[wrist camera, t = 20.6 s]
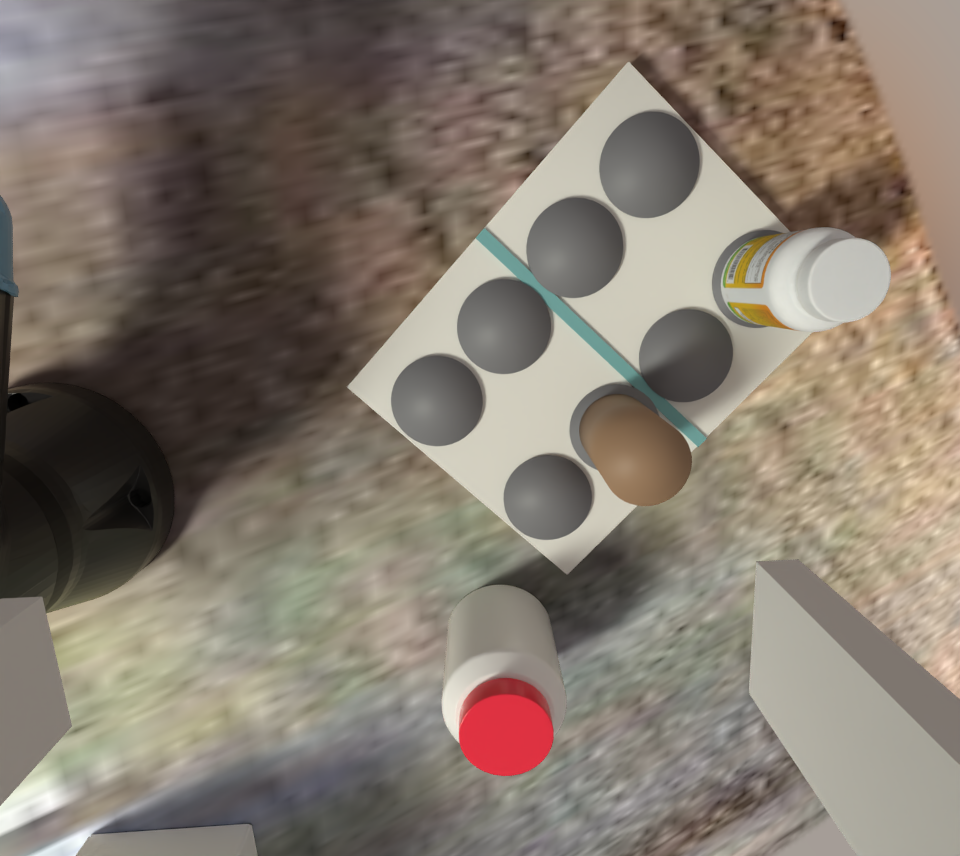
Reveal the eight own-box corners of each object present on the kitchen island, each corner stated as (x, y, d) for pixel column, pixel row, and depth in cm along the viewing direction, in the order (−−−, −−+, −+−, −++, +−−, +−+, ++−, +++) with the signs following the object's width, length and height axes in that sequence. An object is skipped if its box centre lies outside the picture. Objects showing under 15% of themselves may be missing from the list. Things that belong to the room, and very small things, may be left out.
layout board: (564, 567, 46) (587, 640, 36) (350, 384, 43) (315, 413, 33) (839, 294, 41) (944, 298, 32) (623, 67, 38) (670, 0, 29)
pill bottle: (569, 648, 47) (597, 757, 37) (480, 694, 48) (481, 812, 37) (519, 566, 46) (533, 653, 35) (427, 614, 47) (413, 714, 36)
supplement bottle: (811, 309, 40) (915, 317, 31) (728, 335, 40) (806, 351, 31) (795, 224, 39) (897, 206, 29) (709, 251, 39) (783, 242, 30)
